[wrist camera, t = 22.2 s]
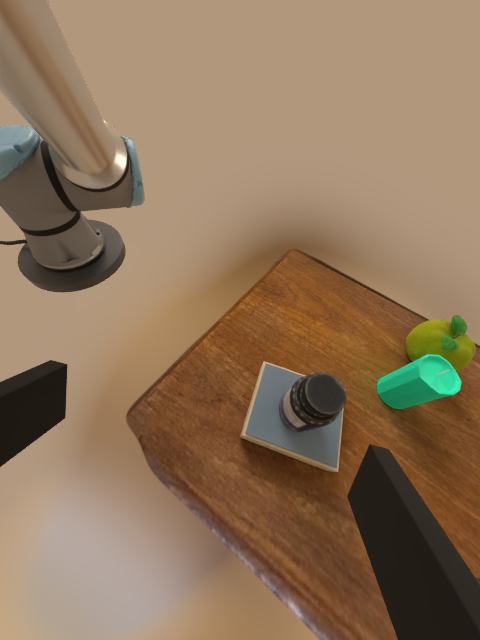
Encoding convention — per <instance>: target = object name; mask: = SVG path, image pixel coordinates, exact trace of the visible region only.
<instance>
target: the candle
mask: <svg viewBox="0 0 480 640" xmlns="http://www.w3.org/2000/svg"><path fill="white" fill-rule="evenodd" d="M376 386H377V391H378V395H379V396H380V398H381V399H382V400H383V402H384V403H386V404H387V405H389V406H390V407H392V408H396V409H404V408H408V407H411V406H415V405H418V404H422V403H426V402H429V401H433V400H436V399H440V398H444V397H447V396H451V395H454V394H455V393H457V392H458V391H460V387H461V380H460V378H459V376H458V374H457V372H456V370H455V369H454V368H453V367H452V365H451V364H450V363H449V362H448V361H447V360H446V359H444V358H443V357H441V356H440V355H433V354H427V355H425V356H423V357H421V358H419V359H417V360H415V361H414V362H412V363H410V364H408V365H406V366H404V367H402V368H400V369H398V370H396V371H394V372H392V373H390V374H388V375H386V376H384V377H382V378H380V379H379V380H378V383H377V385H376Z"/></svg>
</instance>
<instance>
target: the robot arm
mask: <svg viewBox="0 0 480 640" xmlns="http://www.w3.org/2000/svg"><path fill="white" fill-rule="evenodd" d="M0 91H1V92H2V94H3V95H4V96H5V97H6V98H7V99H8V100H9V101H10V102H11V104H12V105H14V107H15V108H16V109H17V110H18V111H19V112H20V114H21V115H22V116H23V117H24V118H25V119H26V120H27V122H28V123H29V124H30V125H31V126H32V127H33V128H34V129H35V131H36V132H37V133H38V134H39V135H40V136H41V137H42V138H43V140H40V137H39V135H38V134H37V133H36V132H35V131H34V130H33V129H32V128H30V127H27V126H25V127H24V126H22V125H11V126H4V127H0V206H1V207H2V208H3V209H4V211H5V212H6V213H7V214H8V215H9V216H10V217H11V218H12V219H13V221H14V222H15V223H16V224H17V225H18V226H19V228H20V229H21V230H22V231H23V232H24V234H25V237H26V240H18V241H10V242H5V241H0V244H4V245H14V244H21V243H28V245H29V247H30V250H31V253H32V255H33V257H34V259H35V260H36V261H37V262H38V263H39V264H40V265H41V266H42V267H43V268H45V269H47V270H50V271H54V272H71V271H76V270H80V269H83V268H85V267H87V266H89V265H91V264H93V263H94V262H95V261H97V260H98V259H99V258H100V257H101V256H102V254H103V253H104V251H105V248H106V242H105V239H104V237H103V235H102V233H101V232H100V231H99V230H98V229H97V228H96V227H95V226H94V225H93V224H92V223H91V222H90V221H89V220H88V219H87V218H86V217H85V216H83V214H81V212H80V211H88V210H99V209H110V208H121V207H127V208H130V207H132V206H137V205H141V204H142V203H143V202H144V198H145V197H144V189H143V184H142V178H141V172H140V167H139V162H138V157H137V153H136V149H135V145H134V143H133V140H132V139H131V138H129V137H124V136H120V135H119V134H118V132H117V131H116V130H115V129H114V128H113V127H112V126H111V125H110V124H109V123H107V122H106V121H104V120H103V119H102V116H101V114H100V112H99V110H98V108H97V105H96V104H95V101H94V99H93V97H92V95H91V92H90V90H89V88H88V86H87V84H86V82H85V80H84V77H83V75H82V73H81V71H80V69H79V67H78V64H77V62H76V60H75V58H74V56H73V54H72V52H71V49H70V47H69V45H68V43H67V41H66V38H65V36H64V34H63V32H62V30H61V28H60V26H59V23H58V21H57V19H56V17H55V15H54V12H53V10H52V8H51V6H50V4H49V2H48V0H0ZM66 380H67V364H64V363H60V362H56V361H52V360H50V361H48V362H45V363H43V364H41V365H39V366H36V367H34V368H32V369H29V370H27V371H25V372H23V373H20V374H18V375H16V376H13V377H11V378H9V379H6V380H4V381H2V382H0V467H1V466H2V465H3V464H5V463H6V462H7V461H9V460H10V459H11V458H13V457H14V456H15V455H16V454H18V453H19V452H21V451H22V450H23V449H25V448H26V447H27V446H28V445H30V444H31V443H32V442H34V441H35V440H37V439H38V438H39V437H40V436H42V435H43V434H44V433H46V432H47V431H48V430H50V429H51V428H53V427H54V426H55V425H57V424H58V423H59V422H61V421H62V420H63V419H64V418H65V410H66V383H67V381H66ZM347 497H348V500H349V503H350V505H351V508H352V511H353V514H354V517H355V520H356V522H357V525H358V528H359V531H360V534H361V537H362V539H363V542H364V545H365V548H366V551H367V553H368V556H369V559H370V562H371V565H372V568H373V570H374V573H375V576H376V579H377V582H378V584H379V587H380V590H381V593H382V596H383V599H384V601H385V604H386V607H387V610H388V613H389V615H390V618H391V621H392V624H393V627H394V630H395V632H396V635H397V638H398V640H480V579H479V578H475V577H474V575H473V574H472V572H471V571H470V569H469V568H468V566H467V565H466V563H465V562H464V560H463V559H462V557H461V556H460V554H459V553H458V551H457V550H456V548H455V547H454V546H453V544H452V543H451V541H450V540H449V538H448V537H447V535H446V534H445V532H444V531H443V529H442V528H441V526H440V525H439V523H438V522H437V520H436V519H435V517H434V516H433V514H432V513H431V511H430V510H429V508H428V507H427V505H426V504H425V502H424V501H423V499H422V498H421V496H420V495H419V494H418V492H417V491H416V489H415V488H414V486H413V485H412V483H411V482H410V480H409V479H408V477H407V476H406V474H405V473H404V471H403V470H402V468H401V467H400V465H399V464H398V462H397V461H396V459H395V458H394V456H393V455H392V453H391V452H390V450H389V449H386V448H382V447H378V446H374V445H369V447H368V449H367V452H366V454H365V456H364V459H363V461H362V463H361V466H360V468H359V470H358V472H357V475H356V477H355V479H354V482H353V484H352V486H351V489H350V491H349V493H348V496H347Z"/></svg>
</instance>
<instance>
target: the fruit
mask: <svg viewBox="0 0 480 640" xmlns="http://www.w3.org/2000/svg"><path fill="white" fill-rule="evenodd" d="M466 330H467V325H466V322H465V321H464V320H463V319H462V318H461V317H460V316H457V315H455V316H453V318H452V322H451V323H449V322H448V321H446V320H429V321H426V322H423V323H421V324H420V325H418V326H417V327H415V328H414V329H413V330H412V331H411V332H410V333H409V334H408V336H407V338H406V340H405V348H406V351H407V354H408V356H409V359H410V360H411V361H412V362H414V361H415V360H417V359H419V358H421V357H423V356H425V355H427V354H433V355H440V356H441V357H443V358H444V359H446V360H447V361H448V362H449V363H450V364H451V365H452V367H453V368H454V369H455V370H456V371H459V370H461V369H463V368H465V367H466V366H467V365H468V364H469V362H470V361H471V359H472V357H473V356H474V354H475V350H476V347H475V344H474V343H473V341H472V340H471V339H470V338H469V337H468V336H467V335H466V334H465V332H466Z"/></svg>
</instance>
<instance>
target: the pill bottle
mask: <svg viewBox="0 0 480 640" xmlns="http://www.w3.org/2000/svg"><path fill="white" fill-rule="evenodd" d="M345 404H346V392H345V389H344V387H343V385H342V384H341V383H340V381H339V380H338V379H337V378H335V377H334V376H332V375H330V374H328V373H315V374H313V375H307V376H303V377H301V378H300V379H298V380H297V381H296V382H295V383H294V385H293V386H292V387H291V388H290V389H289V390H288V391H287V392H286V393H285V394H284V395H283V396H282V398H281V400H280V404H279V412H280V416H281V418H282V420H283V422H284V423H285V425H286V426H288V427H289V428H290V429H292V430H294V431H297V432H307V431H311V430H314V429H317V428H320V427H323V426H326V425H328V424H331V423H332V422H333V421H335V419H336V418H337V416H338V415H339V412H340V411H341V410H342V409H343V408H344V406H345Z"/></svg>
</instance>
